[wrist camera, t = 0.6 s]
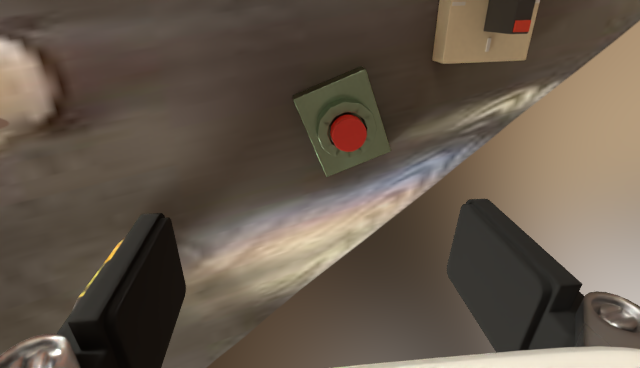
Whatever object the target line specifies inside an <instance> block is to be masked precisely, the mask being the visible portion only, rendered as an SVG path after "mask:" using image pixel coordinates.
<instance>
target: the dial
mask: <svg viewBox="0 0 640 368" xmlns="http://www.w3.org/2000/svg"><path fill="white" fill-rule="evenodd" d="M535 1H536V0H489V3H488V9H487V14H486V19H485V25H484V30H483V31H486V32H495V33H504V34H527V33H528V32H529V29H530V24H531V18H532V14H533V10H534V6H535Z"/></svg>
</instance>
